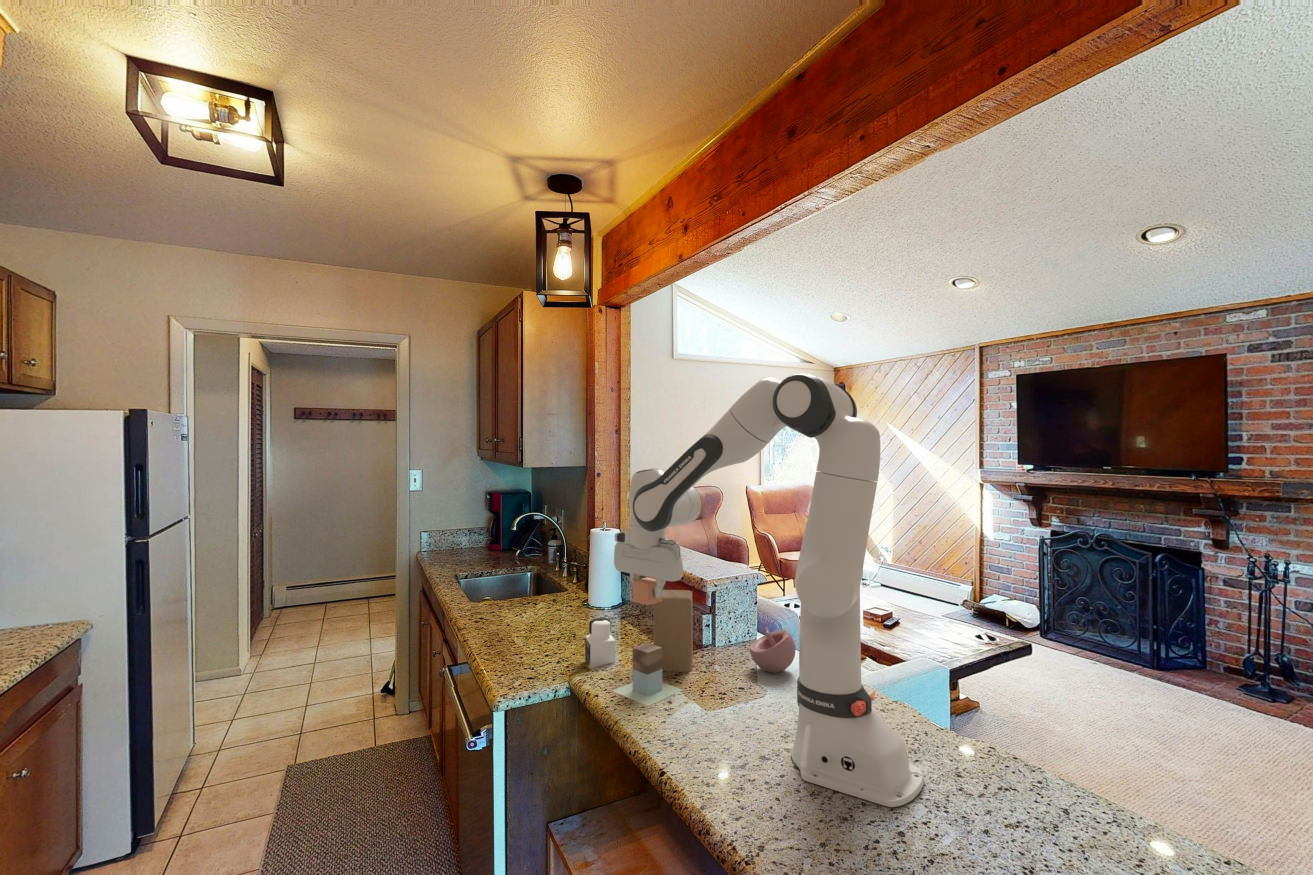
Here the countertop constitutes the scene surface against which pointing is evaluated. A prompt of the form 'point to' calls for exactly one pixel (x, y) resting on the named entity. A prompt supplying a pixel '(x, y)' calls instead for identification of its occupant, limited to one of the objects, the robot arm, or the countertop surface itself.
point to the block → (674, 629)
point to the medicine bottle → (599, 644)
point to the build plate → (629, 693)
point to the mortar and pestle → (773, 650)
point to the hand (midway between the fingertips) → (647, 594)
